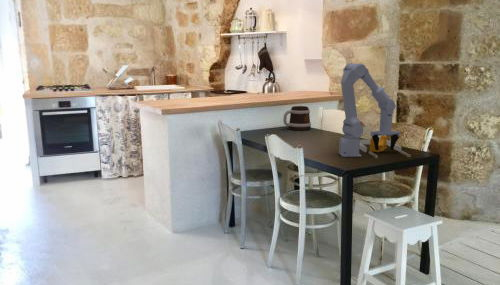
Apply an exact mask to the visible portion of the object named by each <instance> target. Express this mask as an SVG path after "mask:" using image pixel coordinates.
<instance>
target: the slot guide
mask: <svg viewBox="0 0 500 285" xmlns="http://www.w3.org/2000/svg"><path fill="white" fill-rule="evenodd" d="M368 154H369V155H370V156H372V157H373V158H375V159H378V158H379V157H378V154H376V153H374V152H373V151H370V150H368ZM399 154H401V155H403V156H404V155H405V157H406V156H407V157H406V158H408V157H411V156H412V155H411V154H410V153H407V152H406V151H404V150H401V151H400V152H399Z"/></svg>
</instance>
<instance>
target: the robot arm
mask: <svg viewBox="0 0 500 285" xmlns="http://www.w3.org/2000/svg"><path fill="white" fill-rule="evenodd" d="M342 70H343V74H342V78H341V81H340V86H341V92H342V102H343V109H344V116H345V118H344V120H343V121H342V123H343V124H342V129H341V130H342V133H343V134H344V137H340V138H339V142H338V143H339V144H338V145H339V146H338V154H339V155H340V156H341V157H343V158H344V157H345V158H347V157H349V158H351V157H353V158H354V157H362V156H363V155H362V154H360V149H359V147H360V140H361V137H362V135H363V133H364V128H363V126H362V125H361V124H362V122H361V121H360V119H359V118H358V113H357V104H356V96H355V90H354V88H355V87H354V85H355V83H356V82H357V81H358V80H362V81H363V82H364V83H365V84H366V86H367V87H368V88H369V89H370V90H371V96H372V97H373V98H374V100H375V101H376V102H377V106H378V108H379V109H380V115H379V118H380V119H379V130H375V131H370V133H369V136H371V138H372V139H373V141H374V144H375V150H378V144H379V139H380V137H381V136H387V137H388V136H389V137H390V141H391V146H389V149H390V150H391V151H394V150H395V149H394V146H395V144H397V141H398V140H399V137H400V136H401V131H399V130H397V131H396V130H394V131H393V130H392V128H393V114H394V110H395V109H396V107H397V104H396V102H395V101H394V100H393V99H391V98H390V95H388V93H387V92H386V91H385V90H386V89H385V87H382V86H379V85H378V84H377V83H376V81H375V80H374V78H373V77H372V75H371V74H370V72H369V68H367V66H366V65H365V64H364V63H360V62H359V63H352V62H351V63H348V64H346V65H345V67H344V68H343V69H342Z"/></svg>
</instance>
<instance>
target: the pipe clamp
mask: <svg viewBox="0 0 500 285" xmlns="http://www.w3.org/2000/svg"><path fill="white" fill-rule="evenodd" d="M379 138H380V141H379V144H378V150H375V144H374V141H373V139H372V137H371V138H370V139H369V140H370V144H369V151H371V152H373V153H374V152H375V153H380V152H383V151H385V149H387V146H388V145H387V140H388V136H379Z"/></svg>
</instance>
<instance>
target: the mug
mask: <svg viewBox="0 0 500 285" xmlns="http://www.w3.org/2000/svg"><path fill="white" fill-rule="evenodd" d="M310 113H311V110H310V108H309V107H308V106H305V105H304V106H303V105H294V106H292V107H291V108H290V110H286V111H285V112H284V114H283V124H284V126H286V127H288V129H289V130H290V131H296V132H297V131H298V132H301V131H302V132H303V131H304V132H306V131H310V130H311V129H312V128H311V126H312V123H311V119H310V118H311V117H310V116H311V115H310ZM289 114H290V116H289V122H287V121H288V120H287V116H288V115H289ZM309 129H310V130H309ZM305 130H306V131H305Z"/></svg>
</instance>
